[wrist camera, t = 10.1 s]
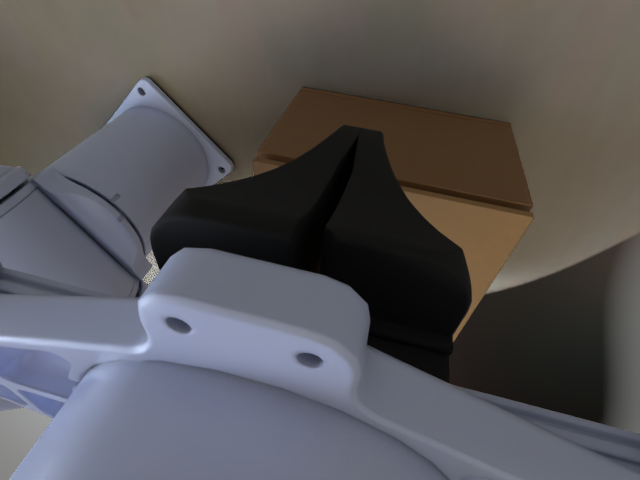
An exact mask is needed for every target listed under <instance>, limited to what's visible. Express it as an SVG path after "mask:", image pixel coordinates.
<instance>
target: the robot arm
mask: <svg viewBox="0 0 640 480" xmlns="http://www.w3.org/2000/svg"><path fill="white" fill-rule="evenodd" d="M141 88H142V89H144V91H145V93H144V92H143V91H142V89H141ZM221 167H222V168H224V170H222V169H221ZM233 168H234V164H233V162H232V161H231V160H230V159H229V158H228V157H227V156H226V155H225V154H224V153H223V152H222V151H221V150H220V149H219V148H218V147H217V146H216V145H215V144H214V143H213V142H212V141H211V140H210V139H209V138H208V137H207V136H206V135H205V134H204V133H203V132H202V131H201V130H200V129H199V128H198V127H197V126H196V125H195V124H194V123H193V122H192V121H191V120H190V119H189V118H188V117H187V116H186V115H185V114H184V113H183V112H182V111H181V110H180V109H179V108H178V107H177V106H176V105H175V104H174V103H173V102H172V101H171V100H170V98H169V97H168V96H167V95H166V94H165V93H164V92H163V91H162V90H161V89H160V88H159V87H158V86H157V85H156V84H155V83H154V82H153V81H152V80H150V79H149V78H147V77H143V78H142V79H140V80H139V81H138V82H137V84H136V85H135V86H134V88H133V89H132V90H131V92H130V93H129V94H128V96H127V97H126V98H125V100H124V101H123V102H122V104H121V105H120V106H119V108H118V109H117V110H116V112H115V113H114V114H113V116H112V117H111V118H110V120H109V121H108V122H107V124H106V125H105V126H104V127H102V128H101V129H99V130H98V131H97V132H95V133H94V134H92V135H91V136H90V137H88V138H87V139H85V140H84V141H82V142H81V143H80V144H78V145H77V146H75V147H74V148H73V149H71V150H70V151H68V152H67V153H66V154H64V155H63V156H61V157H60V158H58V159H57V160H56V161H54V162H53V163H51V164H50V165H49V166H47V167H46V168H44V169H43V170H42V171H40V172H38V173H37V174H35V175H33V176H31V177H29V176H30V174H29V173H28V172H27V171H26V170H25V169H24V168H22V167H21V166H16V167H12V166H5V165H0V411H4V410H11V409H17V408H24V407H26V408H29V409H31V410H34V411H36V412H38V413H41V414H44V415H46V416H49V417H51V418H54V419H53V420H52V421H51V423H50V424H49V426H48V427H47V428H46V430H45V431H44V432H43V434H42V435H41V436H40V438H39V439H38V441H37V442H36V443H35V445H34V446H33V447H32V449H31V450H30V451H29V453H28V454H27V456H26V457H25V458H24V460H23V461H22V462H21V464H20V465H19V467H18V468H17V469H16V471H15V472H14V473H13V475H12V476H11V477H10V479H9V480H640V434H638V433H634V432H631V431H627V430H623V429H619V428H615V427H611V426H607V425H604V424H600V423H596V422H592V421H588V420H585V419H581V418H577V417H573V416H569V415H565V414H562V413H558V412H554V411H550V410H547V409H543V408H539V407H535V406H531V405H527V404H523V403H520V402H516V401H512V400H508V399H505V398H501V397H497V396H493V395H489V394H485V393H482V392H478V391H474V390H470V389H466V388H462V387H458V386H455V385H451V384H449V355H451V353H452V351H453V334H454V333H455V331H456V330H457V328H458V327H459V325H460V323H461V322H462V320H463V319H464V317H465V316H466V314H467V312H468V310H469V308H470V305H471V302H472V287H471V280H470V275H469V270H468V266H467V263H466V259H465V255H464V252H463V249H462V248H461V247H459V246H458V245H457V244H455V243H454V242H453V241H451V240H450V239H449V238H447V237H446V236H445V235H443V234H442V233H441V232H439V231H438V230H437V229H436V228H435V227H434V226H433V225H432V224H430V223H429V222H428V221H427V220H426V219H425V218H424V217H423V216H422V215H421V214H420V213H419V211H418V210H417V209H416V208H415V207H414V205H413V204H412V203H411V202H410V200H409V199H408V198H407V196H406V195H405V193H404V191H403V190H402V188H401V186H400V184H399V183H398V181H397V179H396V176H395V174H394V172H393V170H392V167H391V165H390V162H389V159H388V156H387V153H386V149H385V145H384V135H383V133H382V132H381V131H376V130H371V129H365V128H360V127H354V126H349V125H343V126H341V127H340V128H338V129H337V130H336V131H335V132H333V133H332V134H331V135H330V136H328V137H327V138H326V139H325V140H323V141H322V142H320V143H319V144H318V145H316V146H315V147H314V148H312V149H311V150H309V151H307V152H306V153H304V154H303V155H301V156H299V157H298V158H296V159H294V160H292V161H290V162H288V163H286V164H284V165H282V166H280V167H277V168H275V169H273V170H270V171H267V172H264V173H261V174H258V175H255V176H252V177H249V178H245V179H241V180H237V181H233V182H228V183H223V184H218V185H214V184H216V183H217V182H218V181H220V180H221V179H222V178H223V177H225V176H226V175H227V174H229V173H230V172H231V171H232V170H233ZM28 177H29V178H28ZM151 250H153V253H154V256H155V258H156V261H157V264H158V267H159V269H160V272H159V273H158V274H157V276H156V277H155V278H154V280H153V281H152V282H151V284H150V285H149V286H148V285H147V284H146V283H145V282H144V281H143V280H142V279H143V278H144V276H145V275H146V274H147V272H148V271H149V270H150V269H151V267H152V265H151V263H150V262H149V261H148V260H147V259H146V256H147V255H148V254H149V253H150V251H151Z"/></svg>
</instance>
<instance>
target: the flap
mask: <svg viewBox="0 0 640 480" xmlns="http://www.w3.org/2000/svg"><path fill="white" fill-rule="evenodd" d="M401 188H402V190H403V191H404V193H405V195H406V196H407V198H408V199H409V200H410V202H411V203H412V204H413V205H414V207H415V208H416V209H417V210H418V211H419V213H420V214H421V215H422V216H423V217H424V218H425V219H426V220H427V221H428V222H429V223H430V224H432V225H433V226H434V227H435V228H436V229H437V230H438V231H439V232H441V233H442V234H443V235H445V236H446V237H447V238H449V239H450V240H451V241H453V242H454V243H455V244H457V245H458V246H459V247H461V248H462V249H463V252H464V255H465V259H466V263H467V266H468V270H469V275H470V280H471V287H472V302H471V305H470V308H469V310H468V312H467V314H466V316H465V317H464V319H463V320H462V322H461V323H460V325H459V327H458V328H457V330H456V331H455V333H454V334H453V342H454V340H455V339H456V337H457V336H458V334H459V333H460V331H461V329H462V328H463V327H464V325H465V323H466V322H467V320H468V319H469V317H470V316H471V314H472V313H473V311H474V310H475V308H476V307H477V305H478V303H479V302H480V300H481V299H482V297H483V296H484V294H485V293H486V291H487V290H488V288H489V287H490V285H491V283H492V282H493V280H494V279H495V277H496V276H497V274H498V273H499V271H500V270H501V268H502V267H503V265H504V263H505V262H506V260H507V259H508V257H509V256H510V254H511V253H512V251H513V250H514V248H515V247H516V245H517V243H518V242H519V240H520V239H521V237H522V236H523V234H524V233H525V231H526V230H527V228H528V226H529V225H530V223H531V222H532V220H533V219H534V215H533V213H532V212H527V211H522V210H517V209H512V208H507V207H502V206H497V205H492V204H487V203H482V202H477V201H473V200H468V199H463V198H458V197H453V196H448V195H443V194H438V193H433V192H428V191H423V190H419V189H414V188H409V187H404V186H401Z"/></svg>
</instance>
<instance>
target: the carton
mask: <svg viewBox="0 0 640 480" xmlns="http://www.w3.org/2000/svg"><path fill="white" fill-rule="evenodd" d="M343 125H349V126H354V127H360V128H365V129H371V130H376V131H381V132H382V133H383V135H384V145H385V149H386V153H387V156H388V159H389V162H390V165H391V167H392V170H393V172H394V174H395V176H396V179H397V181H398V183H399V184H400V186H404V187H409V188H414V189H419V190H423V191H428V192H433V193H438V194H443V195H448V196H453V197H458V198H463V199H468V200H473V201H477V202H482V203H487V204H492V205H497V206H502V207H507V208H512V209H517V210H522V211H527V212H530V210H531V209H532V207H533V203H532V199H531V196H530V192H529V189H528V185H527V181H526V178H525V174H524V171H523V167H522V163H521V160H520V156H519V153H518V149H517V145H516V142H515V138H514V135H513V131H512V128H511V124H510V123H505V122H499V121H493V120H488V119H482V118H476V117H470V116H465V115H459V114H453V113H448V112H442V111H436V110H431V109H425V108H419V107H414V106H408V105H402V104H396V103H391V102H385V101H379V100H374V99H368V98H362V97H357V96H351V95H345V94H340V93H334V92H328V91H323V90H317V89H311V88H305V87H302V88H301V90H300V91H299V92H298V94H297V95H296V97H295V98H294V99H293V101H292V102H291V104H290V105H289V107H288V108H287V109H286V111H285V112H284V114H283V115H282V117H281V118H280V119H279V121H278V122H277V124H276V125H275V126H274V128H273V129H272V131H271V132H270V134H269V135H268V136H267V138H266V139H265V141H264V142H263V144H262V145H261V146H260V148H259V149H258V157H255V158H254V160H253V170H254V176H255V175H258V174H261V173H264V172H267V171H270V170H273V169H275V168H277V167H280V166H282V165H284V164H286V163H288V162H290V161H292V160H294V159H296V158H298V157H299V156H301V155H303V154H304V153H306V152H307V151H309V150H311V149H312V148H314V147H315V146H316V145H318V144H319V143H320V142H322V141H323V140H325V139H326V138H327V137H328V136H330V135H331V134H332V133H333V132H335V131H336V130H337V129H338V128H340V127H341V126H343Z"/></svg>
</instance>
